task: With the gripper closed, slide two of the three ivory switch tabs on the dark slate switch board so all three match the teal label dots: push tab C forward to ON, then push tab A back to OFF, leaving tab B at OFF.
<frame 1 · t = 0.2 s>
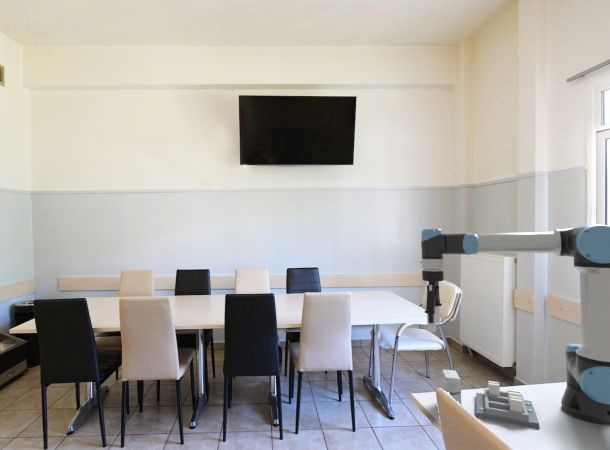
hand: (434, 327, 133), 28 cm above the table, fingers open, 13 cm apart
tab C: (516, 406, 119), point 4 cm above the table, slide at 0.0 cm
tab A: (494, 390, 132), point 4 cm above the table, slide at 6.0 cm
ink box: (452, 407, 129), on the table
switch board: (504, 410, 125), on the table
tab B: (514, 399, 124), point 4 cm above the table, slide at 0.0 cm
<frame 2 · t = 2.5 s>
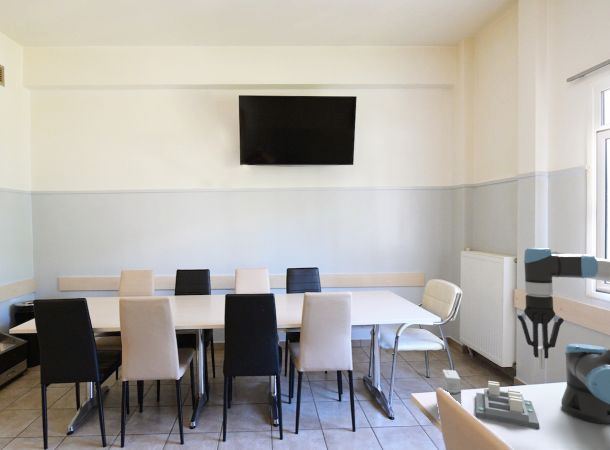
hand: (541, 367, 117), 18 cm above the table, fingers closed
nothing on the table moved.
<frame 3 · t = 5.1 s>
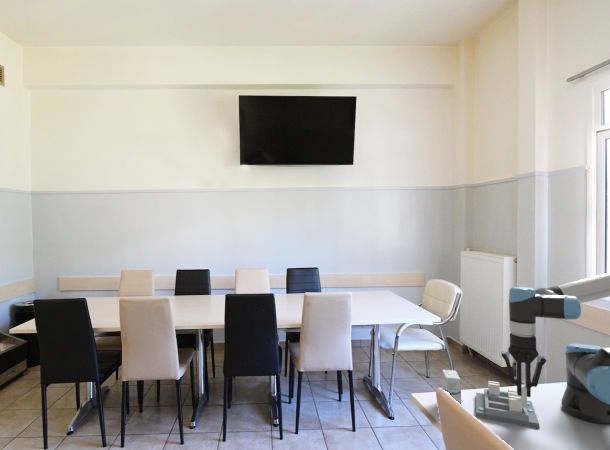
hand: (523, 405, 118), 5 cm above the table, fingers closed
tab C: (515, 406, 119), point 4 cm above the table, slide at 0.2 cm, touching gripper
everything else where it was.
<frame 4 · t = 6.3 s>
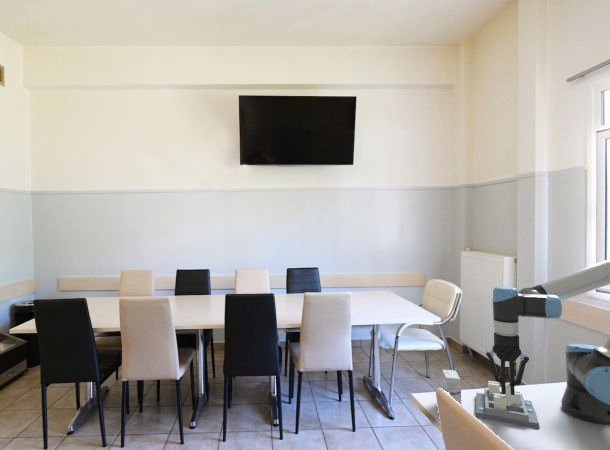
hand: (508, 403, 120), 5 cm above the table, fingers closed
tab C: (499, 403, 121), point 4 cm above the table, slide at 4.8 cm, touching gripper
everything else where it was.
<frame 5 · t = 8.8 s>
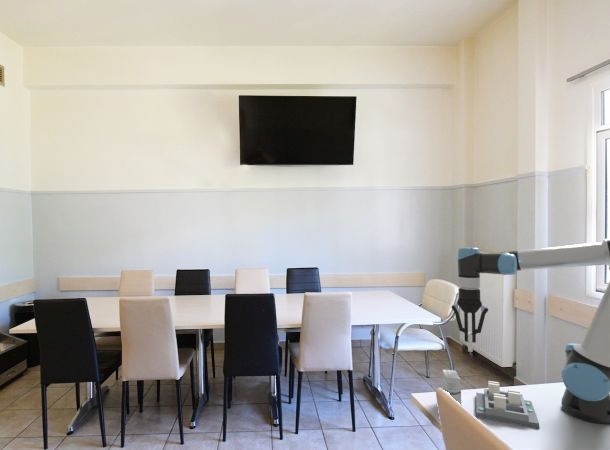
hand: (470, 350, 135), 18 cm above the table, fingers closed
tab C: (499, 403, 121), point 4 cm above the table, slide at 4.8 cm
everything else where it was.
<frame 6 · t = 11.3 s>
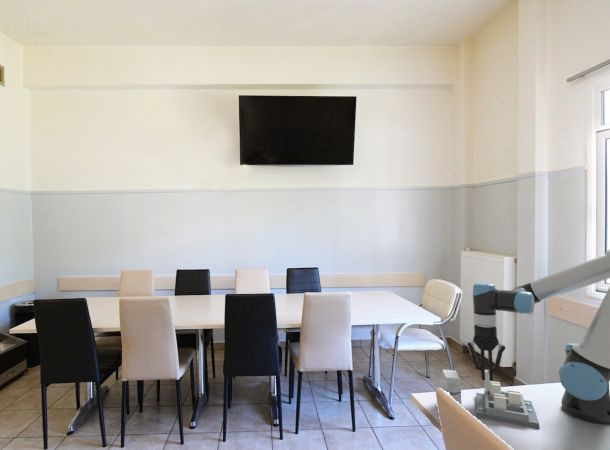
hand: (487, 389, 133), 5 cm above the table, fingers closed
tab A: (495, 390, 132), point 4 cm above the table, slide at 5.6 cm, touching gripper
everything else where it was.
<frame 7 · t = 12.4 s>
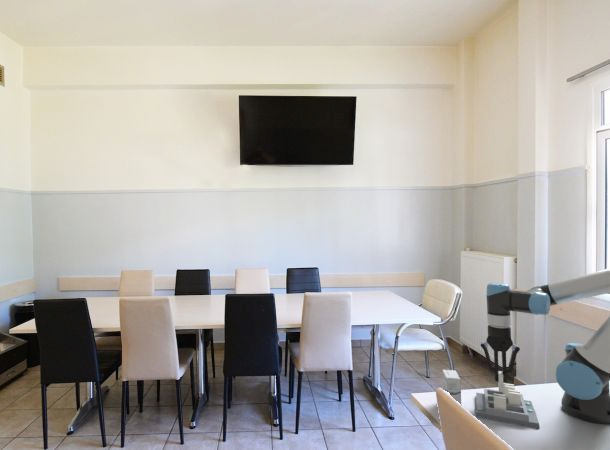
hand: (501, 390, 131), 5 cm above the table, fingers closed
tab A: (508, 392, 130), point 4 cm above the table, slide at 1.2 cm, touching gripper
everything else where it was.
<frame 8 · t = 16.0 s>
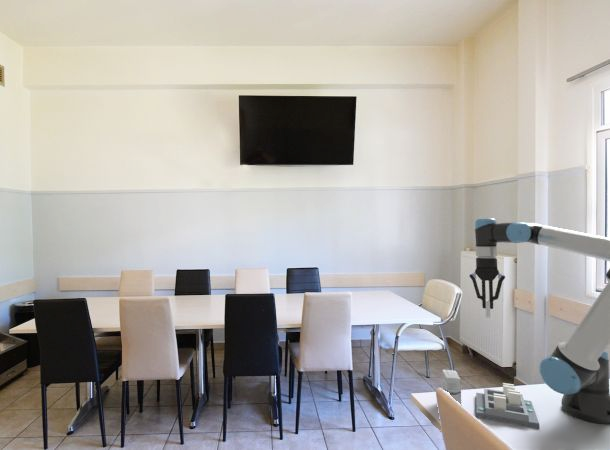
hand: (488, 316, 142), 29 cm above the table, fingers closed
tab A: (508, 392, 130), point 4 cm above the table, slide at 1.2 cm
everything else where it was.
at the end: tab C slide at 4.8 cm; tab A slide at 1.2 cm; tab B slide at 0.0 cm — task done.
